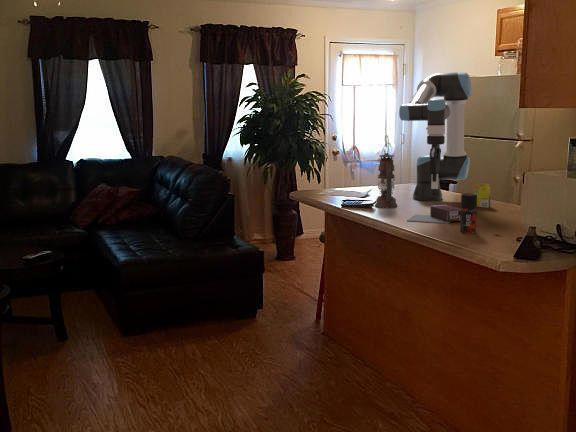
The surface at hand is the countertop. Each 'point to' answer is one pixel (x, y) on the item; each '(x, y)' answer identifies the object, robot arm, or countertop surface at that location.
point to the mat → (426, 219)
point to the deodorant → (468, 213)
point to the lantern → (386, 182)
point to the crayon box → (482, 195)
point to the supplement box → (446, 212)
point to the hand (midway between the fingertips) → (434, 188)
